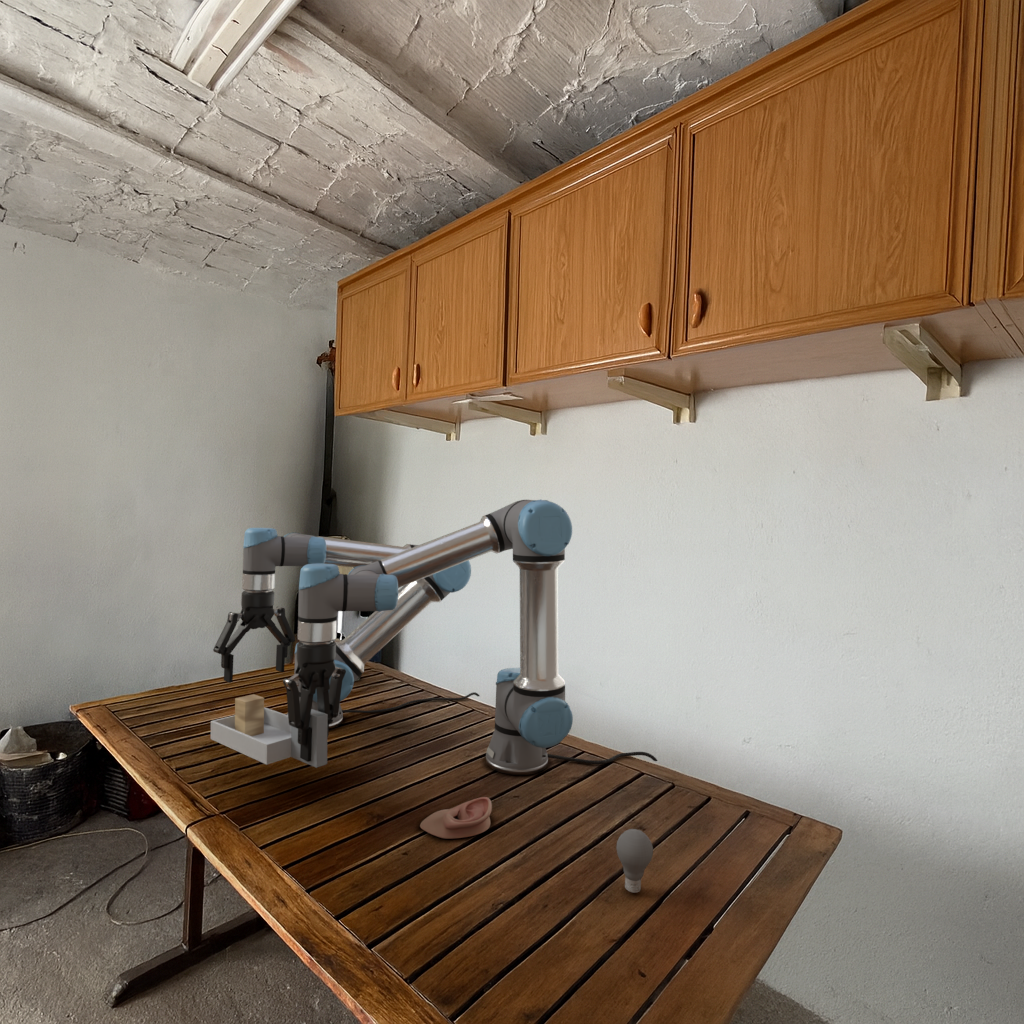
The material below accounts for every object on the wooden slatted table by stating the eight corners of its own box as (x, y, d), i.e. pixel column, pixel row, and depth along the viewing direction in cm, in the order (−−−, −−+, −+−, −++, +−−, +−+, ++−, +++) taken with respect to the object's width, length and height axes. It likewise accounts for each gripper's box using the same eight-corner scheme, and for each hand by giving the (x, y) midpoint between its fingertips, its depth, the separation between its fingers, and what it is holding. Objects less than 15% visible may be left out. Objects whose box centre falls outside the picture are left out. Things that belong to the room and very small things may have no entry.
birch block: (253, 728, 146) (253, 694, 146) (263, 733, 143) (264, 697, 143) (234, 734, 143) (234, 698, 143) (245, 738, 140) (245, 702, 140)
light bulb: (610, 879, 108) (613, 822, 108) (644, 879, 109) (647, 822, 109) (619, 902, 102) (622, 840, 102) (655, 901, 103) (658, 840, 103)
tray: (210, 739, 141) (210, 694, 141) (265, 724, 151) (266, 682, 151) (292, 776, 121) (292, 723, 121) (349, 756, 131) (349, 707, 131)
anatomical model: (414, 813, 120) (434, 787, 131) (414, 834, 120) (433, 806, 131) (482, 823, 117) (496, 795, 129) (481, 844, 118) (495, 815, 129)
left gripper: (294, 584, 168) (291, 664, 169) (200, 592, 149) (196, 682, 149) (311, 588, 164) (307, 669, 164) (215, 596, 144) (212, 689, 144)
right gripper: (337, 632, 136) (333, 741, 136) (270, 643, 123) (266, 763, 124) (360, 638, 131) (355, 751, 131) (292, 650, 119) (288, 774, 119)
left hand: (254, 676), depth 157 cm, fingers open, 13 cm apart
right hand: (312, 756), depth 128 cm, fingers closed on tray, 2 cm apart
